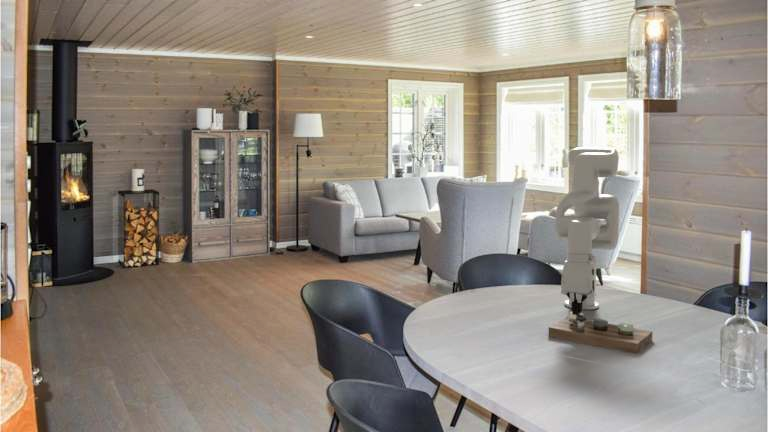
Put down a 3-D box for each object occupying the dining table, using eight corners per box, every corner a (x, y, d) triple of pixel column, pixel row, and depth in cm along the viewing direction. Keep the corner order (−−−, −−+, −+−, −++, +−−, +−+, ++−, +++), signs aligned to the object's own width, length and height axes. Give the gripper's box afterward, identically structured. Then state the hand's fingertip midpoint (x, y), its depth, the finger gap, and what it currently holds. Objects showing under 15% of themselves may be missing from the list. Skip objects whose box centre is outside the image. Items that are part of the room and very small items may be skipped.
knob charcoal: (595, 334, 227) (596, 318, 226) (609, 336, 224) (609, 320, 224) (590, 337, 223) (591, 321, 223) (604, 340, 221) (605, 323, 220)
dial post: (577, 329, 223) (578, 314, 222) (587, 331, 221) (588, 316, 220) (573, 332, 220) (574, 316, 220) (583, 333, 218) (584, 318, 218)
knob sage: (620, 338, 222) (621, 322, 221) (634, 341, 220) (635, 325, 219) (615, 342, 219) (616, 325, 218) (630, 344, 216) (630, 328, 215)
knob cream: (571, 326, 231) (572, 311, 231) (584, 329, 229) (585, 313, 228) (566, 329, 228) (567, 313, 227) (579, 332, 225) (580, 316, 225)
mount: (567, 325, 238) (567, 316, 238) (652, 340, 222) (652, 331, 222) (548, 336, 226) (548, 327, 225) (636, 353, 209) (637, 343, 209)
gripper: (605, 259, 224) (603, 315, 226) (561, 254, 233) (559, 307, 235) (597, 262, 218) (595, 319, 220) (552, 257, 227) (550, 312, 229)
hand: (576, 313), depth 227 cm, fingers closed
